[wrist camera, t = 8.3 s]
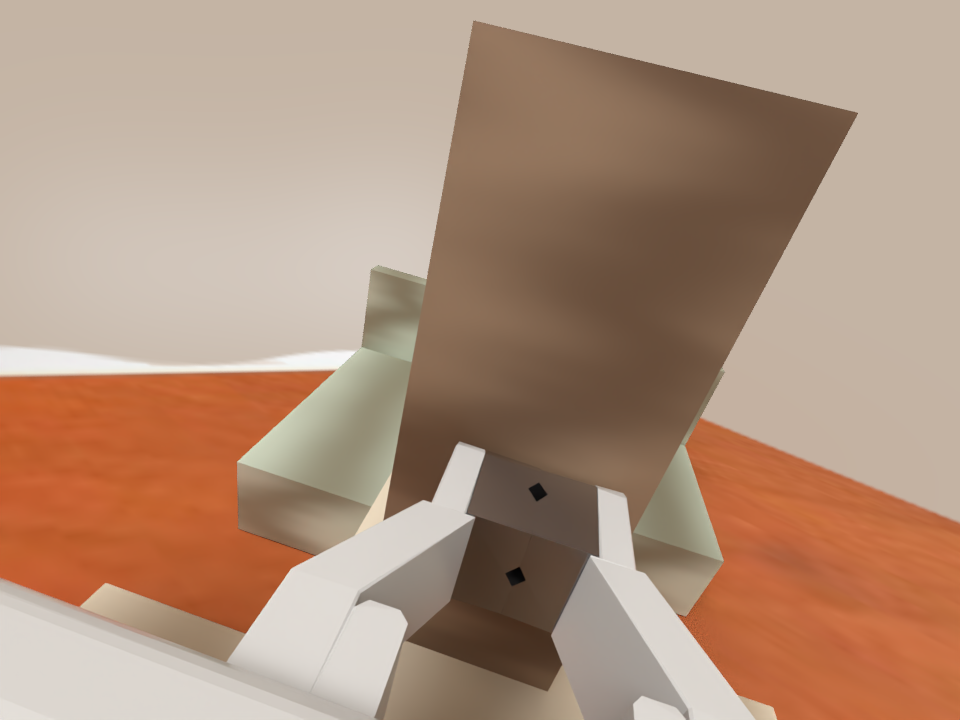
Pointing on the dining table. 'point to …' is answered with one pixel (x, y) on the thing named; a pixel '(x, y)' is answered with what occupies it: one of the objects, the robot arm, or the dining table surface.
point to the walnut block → (591, 278)
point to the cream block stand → (361, 504)
